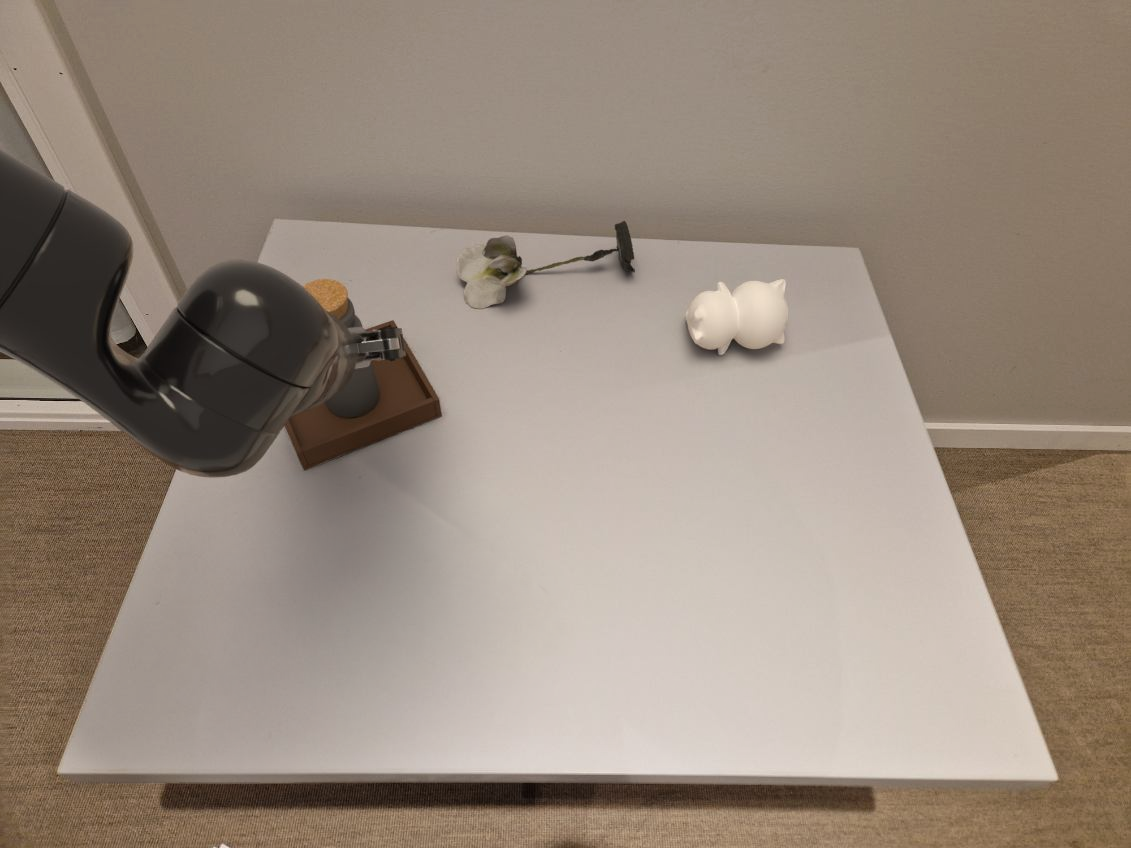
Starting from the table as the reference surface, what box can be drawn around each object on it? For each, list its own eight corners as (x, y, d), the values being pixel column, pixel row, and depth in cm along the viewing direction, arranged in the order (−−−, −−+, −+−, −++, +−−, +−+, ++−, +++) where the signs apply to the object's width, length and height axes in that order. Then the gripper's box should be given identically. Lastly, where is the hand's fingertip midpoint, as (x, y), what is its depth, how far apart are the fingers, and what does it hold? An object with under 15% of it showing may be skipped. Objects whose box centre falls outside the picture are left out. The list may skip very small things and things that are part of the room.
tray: (303, 470, 74) (296, 453, 72) (267, 382, 81) (259, 364, 78) (442, 416, 79) (439, 398, 77) (397, 337, 86) (393, 319, 83)
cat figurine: (696, 291, 79) (802, 279, 80) (669, 276, 89) (763, 265, 90) (698, 369, 82) (799, 355, 83) (671, 346, 92) (762, 334, 93)
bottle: (353, 369, 82) (322, 265, 70) (391, 393, 80) (366, 291, 68) (313, 401, 79) (275, 299, 67) (352, 427, 77) (319, 326, 65)
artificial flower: (640, 296, 93) (646, 252, 84) (468, 327, 93) (454, 286, 83) (626, 239, 97) (630, 190, 87) (458, 268, 96) (445, 222, 86)
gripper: (389, 291, 52) (399, 300, 68) (177, 315, 50) (239, 319, 66) (405, 395, 53) (412, 380, 69) (199, 423, 51) (255, 401, 67)
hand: (328, 350), depth 67 cm, fingers open, 8 cm apart
